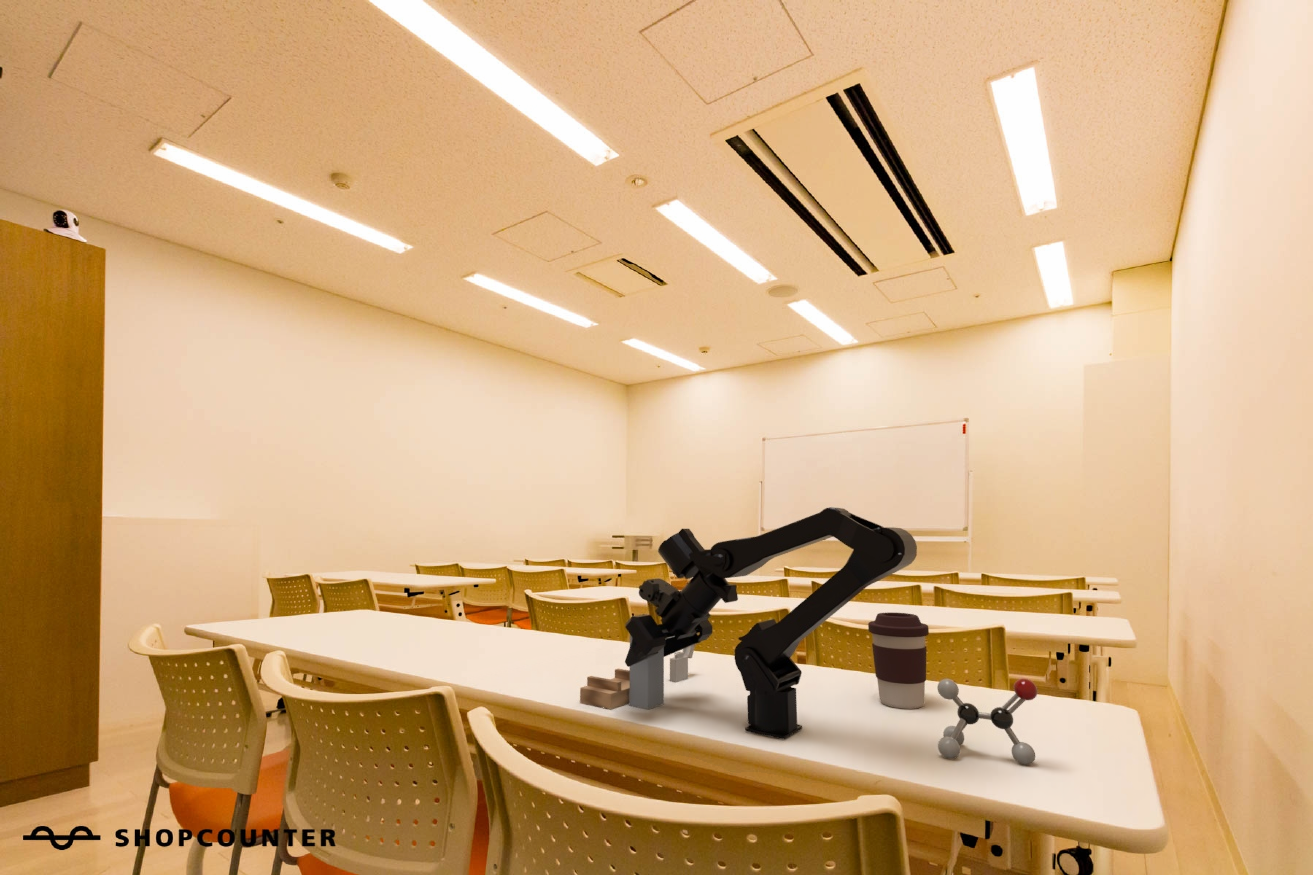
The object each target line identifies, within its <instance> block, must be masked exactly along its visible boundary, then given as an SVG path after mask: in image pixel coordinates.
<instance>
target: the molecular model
mask: <svg viewBox="0 0 1313 875" xmlns="http://www.w3.org/2000/svg"><path fill="white" fill-rule="evenodd" d="M1013 690H1014V694H1013V696H1011V698H1009V699H1008V700H1007V702H1005V703H1004V704H1003V705H1002V706H999V707H994V708H993V709H992V710H991V712H982V711H979V709H978V708H977V707H976V706H975V705H974V704H972V703H970V702H963V701H962V700H961V698H960V697H959V696H958V695H959V691H960V690H959V686H958V684H957V683H956V682H955V681H954V680H952V679H950V678H944V679H940V681H939V682H938V684H937V692H938V694H939V695H940V697H942V699H945V700H948V701H950V700H951V701H953V702H954V703H955V704H956V705H957V706H958V708H957V712H956V713H957V716H958V718H959V720H958V721H957V723H956V725H948V726H946V727H945V728H944V730H943V734H942V735H943V737H941V738H940V739H939V741H938V743H937V750H938V751H939V753H940V754H941V755H942V757H943V758H945V759H949V760H954V759H956V758H958V757H959V755H960V752H961V747H960V746H962V745H963V744H964V741H965V735H964V732H963V731H964V729H965V728H966V727H967V726H968V725H975V724H976V723H978V721H979V720H980V719H981V720H982V719H983V720H989V721H991V722H992V724H993V725H994V726H995V727H996V728H998V729H1000V730H1004V731H1005V733H1006V735H1007V736H1008V738H1009V739H1010V741H1011V742H1012V744H1013V745H1012V747H1011V755H1012V757H1013V759H1014V760H1015V761H1016V762H1017V763H1018V764H1021V765H1023V766H1028V765H1031V764H1033V763H1034V762H1035V760H1036V752H1035V750H1034V748H1033V747H1032V745H1030V744H1028V743H1027V742H1023V741H1020V740H1019V738H1018V737H1017V735H1016V734H1015V732H1014V731H1013V729H1012V728H1011V727H1012V726H1013V724H1014V716H1013V713H1014V712H1015V711H1016V710H1017V709H1018V708H1020V706H1022V705H1023V704H1024V703H1025V702H1026V701H1033V700H1035V698H1037V695H1038V691H1039V690H1038V688H1037V685H1036V684H1035V682H1034V681H1032V680H1030V679H1028V678H1020V679H1017V680H1016V681H1015V682H1014V684H1013ZM1015 701H1016V702H1015ZM1011 705H1012V706H1011ZM1010 706H1011V707H1010Z"/></svg>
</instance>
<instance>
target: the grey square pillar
mask: <svg viewBox="0 0 1313 875" xmlns="http://www.w3.org/2000/svg"><path fill="white" fill-rule="evenodd" d="M631 642H632V636H631V635H630V634H629V647H630V646H631ZM664 659H665V657H664V647H663V648H662V649H661V650H659V651H658V654H656V655H654V656H651V657H649V658H647V659H645V660H643V661H641V662H639V663H636V664H634V665H632V666H630V667H629V670H630V689H629V703H628V704H629V706H630V707H633V708H638V709H643V710H650V709H651V710H652V709H653V708H656V707H659V706H662V705H664V704H665V699H664V698H665V691H664V690H665V689H664V688H665V684H664V683H665V682H664V680H665V672H664V671H665V667H664V666H665V664H664V663H665V660H664Z"/></svg>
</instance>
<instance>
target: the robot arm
mask: <svg viewBox="0 0 1313 875" xmlns="http://www.w3.org/2000/svg"><path fill="white" fill-rule="evenodd" d="M831 538H835V539H836V540H838V541H839V542H840V543H842V544H844V545H845V546H847V547H848V548H850V549H851V550H852V552H851V554H850V555H849V557H848V559H847V561H846V563H845V564H844V565H843V567H842V568H840V569H839V570H838V571H837V572H836V573H834V575H832V576H831V577H830V578H829V579H827V580H826V581H825V582H824V583H823V584H822V585H821V586H819V587H818V588H817V589H816V590H815V591H813V592H812V593H811V594H810V595H808V597H806V598H805V599H803V600H802V601H801V602H800V603H799V604H798V605H796V607H794V608H793V609H792V610H791V611H790V612H788V614H786V615H785V616H784V617H782V619H780V620H779V621H778V622H777V621H776V619H775V618H770V619H767V620H764V621H763V620H762V621H760V622H756V623H755V624H754V625H752V627H751V628H750V630H749V631H748V632H747V633H746V634H745V635H742V636H739V637H738V638H737V639H738V640H739V641H740V642H739V643H738V644H737V645H736V646H735V648H734V650H733V652H734V662H735V665H736V669H737V670H738V671H739V673H740V675H741V678H742V681H743V685H744V688H745V691H747V692H749V694H748V695H747V697H746V698H747V700H746V701H747V705H746V706H747V708H746V709H747V723H748V725H747V726H745V728H744V730H745V732H748V733H753V734H756V735H762V736H767V737H771V738H775V739H780V740H786V739H787V738H790V736H792V735H794V734H797V733H798V732H799V731H801V730H803V725H802V724H798V712H797V711H798V710H797V706H798V705H797V704H798V703H797V688H796V687H793V686H797V685H798V684H799V683H800V680H801V677H802V673H803V672H802V670H801V668H799V666H798V665H797V664H796V662H794V661H793V660H792V656H793V655H794V653H795V652H796V650H797V648H798V647H799V644H800V643H801V641H803V639H805V638H806V637H808V636H809V634H812V632H813V631H814V630H816V629H817V628H819V626H821V625H822V624H824V623H825V622H826V621H827V620H828V619H830V618H831V617H832V616H833V615H835V614H836V612H838V611H840V609H842V607H844V606H846V605H847V603H849V602H850V601H852V599H854V598H855V597H856V596H857V595H859V594H860V593H861V592H862V591H863V590H865V589H866V588H867V587H869V586H870V585H873V584H875V583H876V582H878V581H881V580H883V579H886V578H888V577H890V576H892V575H893V574H895V573H897V572H899V571H901V570H903V569H904V568H906V567H908V566H910V565H911V564H912V563H913V562H914V561H915V560H916V558H917V555H918V554H917V552H918V546H917V542H916V540H915V538H914V536H913V535H912V534H911V533H910V532H908V531H907V530H906V529H904V528H901V527H893V526H892V527H884V526H882V525H880V524H878V523H875V522H873V521H871V520H868V519H866V518H864V517H863V518H862V517H861V516H858V515H856V514H853V513H851V512H850V511H848V510H847V509H845V508H843V507H842V508H841V507H833V506H831V507H826V508H824V509H822V510H821V511H820V512H817V513H815V514H812V515H810V516H807V517H804V518H801V519H798V520H796V521H794V522H792V523H788V524H785V525H783V526H781V527H778V528H774V529H772V530H770V531H768V532H765V533H763V534H759V535H756V536H750V537H743V538H737V539H729V540H725V541H723V540H722V541H719V542H716V543H715V544H713V545H712V546H711V547H710V549H705V548H704V547H703V545H702V544H701V543H700V542H699V541H698V540H697V538H696V537H695V535H694V533H693V531H691V529H690V528H681V529H680V530H679V531H678V532H677V533H675V534H673V535H671V536H670V537H668V538H667V539H666V540H663V541H662V542H661V543H660V545H659V547H658V550H657V552H658V554H659V555H660V557H661V558H662V560H663V561H664V562H665V564H666V565H667V566H668V568H670V570H671V572H672V573H673V574H674V575H675V576H676V578H677V579H682V578H685V580H689V581H688V582H687V583H686V585H684V587H683V588H682V589H681V590H679V589H678V588H677V587H675V586H673V584H670V583H669V582H667V581H666V580H664V579H662V578H651V579H649V578H648V579H646V580H643V583H642V584H641V585H639V586H638V595H639V597H640V598H641V600H642V599H643V601H644V600H645V601H646V602H647V603H650V604H652V605H653V606H654V607H656V609H654V612H655V614H656V616H658V617H660V618H661V619H660V621H661V623H660V624H658V623H657V622H656V621H655V619H654V618H653V616H652V615H651V614H645V613H643V614H637V615H633V616H631V617H630V618H629V619H628V620H627V622H625V624H624V627H625V629H626V630H627V632H628V633H629V636H630V635H631V636H632V642H631V646H630V645H629V649H628V652H627V654H626V657H625V661H624V663H625V665H626V666H627V667H629V668H630V666H632V665H634V664H636V663H639V662H641V661H643V660H645V659H647V658H649V657H651V656H654V655H656V654H658V651H659V650H661V649H662V648H663V647H664V658H665V657H667V656H670V655H672V654H675V653H676V652H681V651H683V649H685V648H687V647H690V646H692V645H695V646H696V645H698V644H700V643H701V642H703V641H707V640H708V638H710V636H712V634H713V625H712V623H711V622H710V621H709V618H711V616H712V615H711V614H710V612H711V611H712V610H713V609H714V607H715V606H716V605H717V604H718V603H719V602H720V601H721V600H722V601H723V602H724V604H727V603H728V604H729V603H734V602H737V601H738V600H739V596H738V592H737V591H738V590H737V587H738V586H737V584H731V583H730V582H728V580H727V579H731V578H741V577H746V576H748V575H750V574H751V573H753V572H755V571H757V570H759V569H760V568H762V567H764V566H765V564H766V563H768V562H769V561H771V560H773V559H774V558H777V557H780V556H783V555H786V554H788V553H790V552H794V551H797V550H800V549H803V548H805V547H808V546H811V545H813V544H816V543H819V542H822V541H825V540H828V539H831Z"/></svg>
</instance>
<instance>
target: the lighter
mask: <svg viewBox="0 0 1313 875" xmlns="http://www.w3.org/2000/svg"><path fill="white" fill-rule="evenodd" d="M695 648H696V644H695V645H692V646H690V647H687V648H685V649H682V651H677V652H675V653H674V657H671V658H669V681H670V682H672V683H673V682H674V683H678V682H682V681H685V680H688V679H689V659H692V658H693V655H694V651H695Z"/></svg>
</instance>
